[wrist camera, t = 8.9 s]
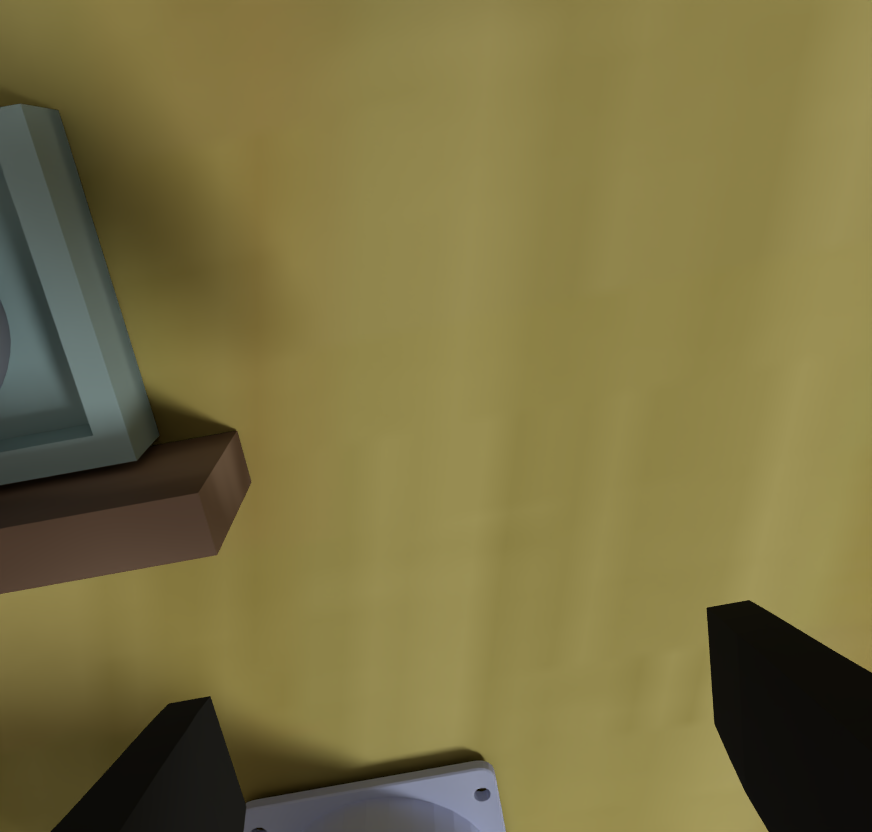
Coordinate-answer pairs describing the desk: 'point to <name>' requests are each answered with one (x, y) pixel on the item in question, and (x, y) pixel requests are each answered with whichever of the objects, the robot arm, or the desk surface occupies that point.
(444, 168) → the desk surface
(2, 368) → the ball
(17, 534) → the rail
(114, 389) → the dish
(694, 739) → the desk surface
